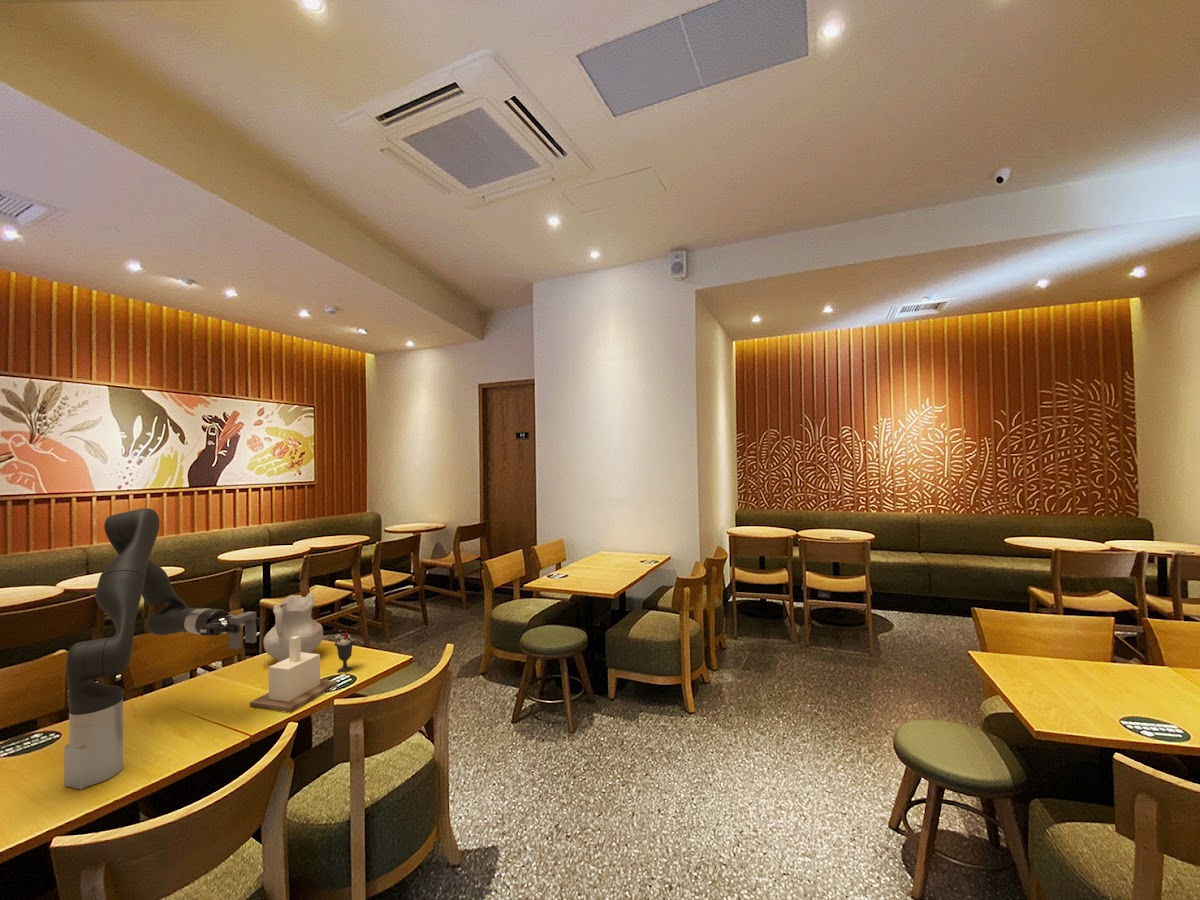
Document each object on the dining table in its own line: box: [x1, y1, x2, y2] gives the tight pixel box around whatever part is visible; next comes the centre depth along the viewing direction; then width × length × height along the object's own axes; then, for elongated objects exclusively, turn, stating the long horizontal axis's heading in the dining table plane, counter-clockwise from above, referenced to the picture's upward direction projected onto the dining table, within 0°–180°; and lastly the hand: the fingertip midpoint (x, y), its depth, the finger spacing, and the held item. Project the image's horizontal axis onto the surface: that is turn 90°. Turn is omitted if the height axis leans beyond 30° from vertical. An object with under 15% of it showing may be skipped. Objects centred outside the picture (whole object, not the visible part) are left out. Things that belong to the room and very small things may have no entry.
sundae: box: [333, 629, 356, 673], centre depth 177 cm, size 7×7×15 cm
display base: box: [249, 678, 338, 714], centre depth 157 cm, size 18×16×2 cm
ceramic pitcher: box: [263, 592, 324, 664], centre depth 186 cm, size 22×20×25 cm
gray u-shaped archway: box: [228, 611, 258, 650], centre depth 144 cm, size 6×3×9 cm, turn 165°
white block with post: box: [268, 636, 321, 702], centre depth 158 cm, size 12×8×18 cm, turn 165°
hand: (249, 625), depth 144 cm, fingers closed on gray u-shaped archway, 6 cm apart
